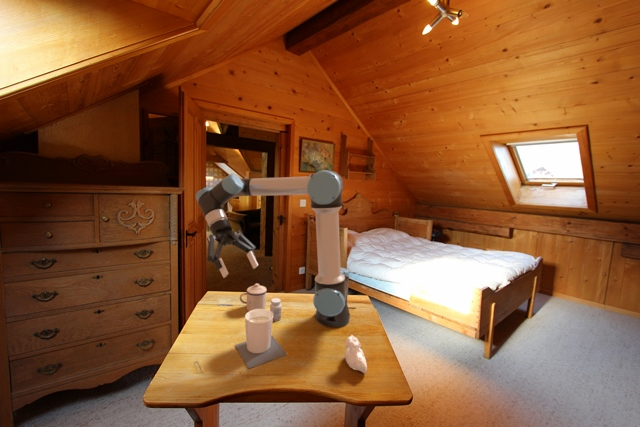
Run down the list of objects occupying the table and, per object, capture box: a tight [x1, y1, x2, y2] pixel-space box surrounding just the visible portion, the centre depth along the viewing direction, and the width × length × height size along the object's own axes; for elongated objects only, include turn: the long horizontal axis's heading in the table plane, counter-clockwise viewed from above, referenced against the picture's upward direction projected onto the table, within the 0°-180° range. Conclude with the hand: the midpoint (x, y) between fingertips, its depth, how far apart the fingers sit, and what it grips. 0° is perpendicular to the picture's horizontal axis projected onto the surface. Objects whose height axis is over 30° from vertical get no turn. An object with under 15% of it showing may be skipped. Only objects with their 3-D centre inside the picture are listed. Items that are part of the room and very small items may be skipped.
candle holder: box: [244, 308, 274, 353], centre depth 100 cm, size 10×10×12 cm
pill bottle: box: [269, 297, 282, 322], centre depth 121 cm, size 5×5×8 cm
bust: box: [344, 334, 368, 374], centre depth 94 cm, size 12×8×11 cm
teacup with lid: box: [239, 283, 268, 312], centre depth 128 cm, size 12×9×12 cm
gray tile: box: [234, 334, 289, 370], centre depth 100 cm, size 14×14×1 cm
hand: (241, 271), depth 103 cm, fingers open, 13 cm apart
